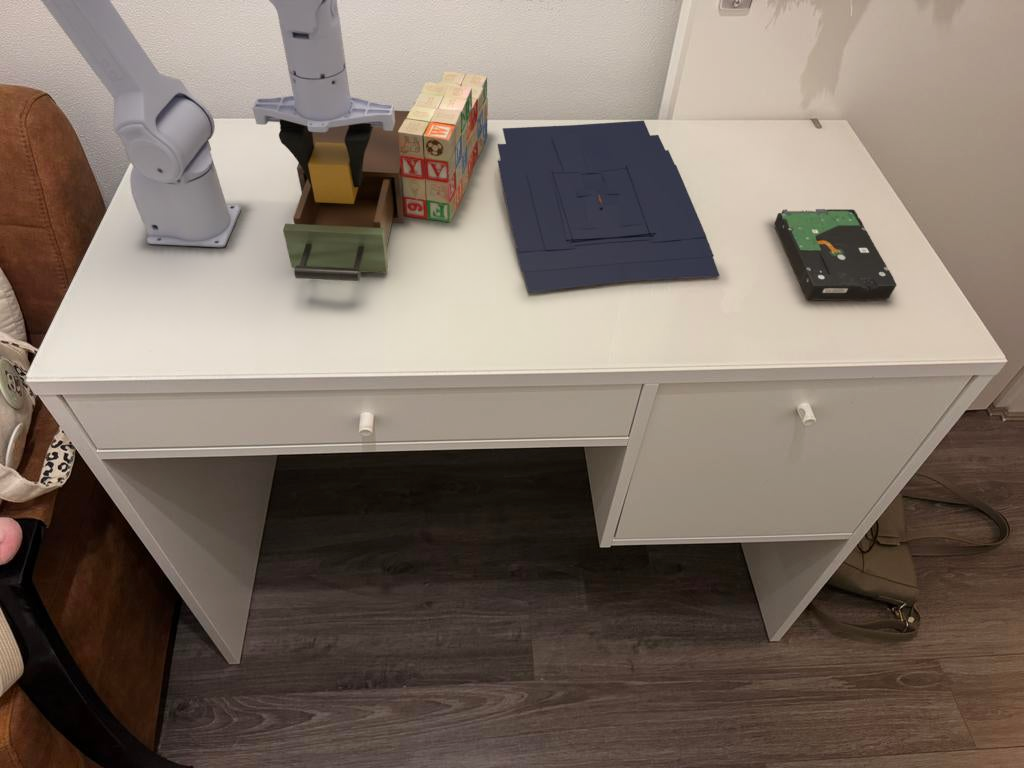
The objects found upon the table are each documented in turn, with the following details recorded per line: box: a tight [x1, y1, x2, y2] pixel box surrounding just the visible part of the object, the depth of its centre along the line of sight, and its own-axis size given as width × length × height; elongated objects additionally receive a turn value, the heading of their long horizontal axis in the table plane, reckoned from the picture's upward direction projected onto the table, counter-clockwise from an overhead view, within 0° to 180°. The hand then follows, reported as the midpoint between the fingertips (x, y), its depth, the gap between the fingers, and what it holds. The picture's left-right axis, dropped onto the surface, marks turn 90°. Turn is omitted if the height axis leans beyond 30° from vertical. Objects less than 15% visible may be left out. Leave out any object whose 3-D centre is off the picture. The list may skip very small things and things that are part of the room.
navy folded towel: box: [497, 120, 721, 294], centre depth 98 cm, size 24×30×4 cm
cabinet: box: [296, 109, 410, 224], centre depth 98 cm, size 14×12×7 cm
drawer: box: [282, 176, 396, 282], centre depth 89 cm, size 19×11×6 cm, turn 179°
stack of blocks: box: [398, 70, 489, 223], centre depth 99 cm, size 21×6×12 cm, turn 168°
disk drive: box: [774, 208, 897, 301], centre depth 93 cm, size 10×3×15 cm
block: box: [308, 142, 358, 204], centre depth 85 cm, size 4×4×5 cm
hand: (336, 181), depth 86 cm, fingers closed on block, 4 cm apart
